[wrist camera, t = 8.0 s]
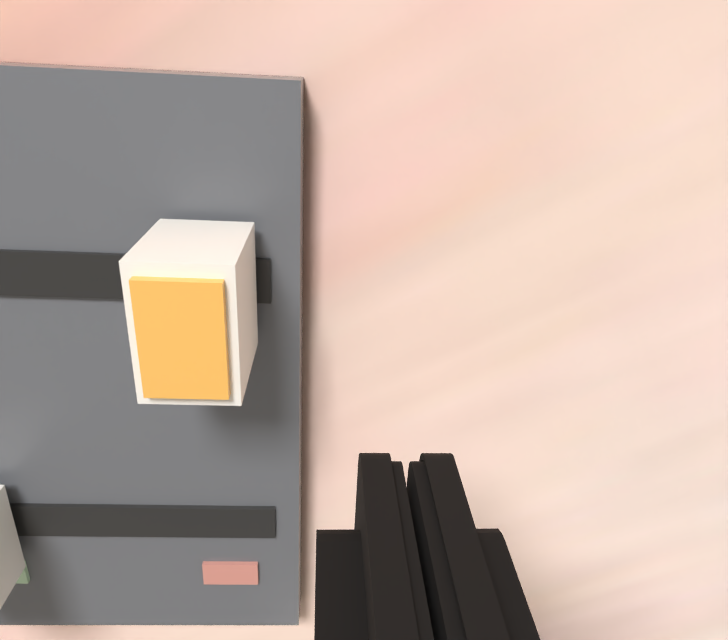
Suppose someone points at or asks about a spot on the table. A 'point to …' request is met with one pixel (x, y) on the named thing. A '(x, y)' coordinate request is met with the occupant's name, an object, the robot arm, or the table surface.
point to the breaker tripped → (192, 311)
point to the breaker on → (8, 549)
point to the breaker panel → (113, 355)
